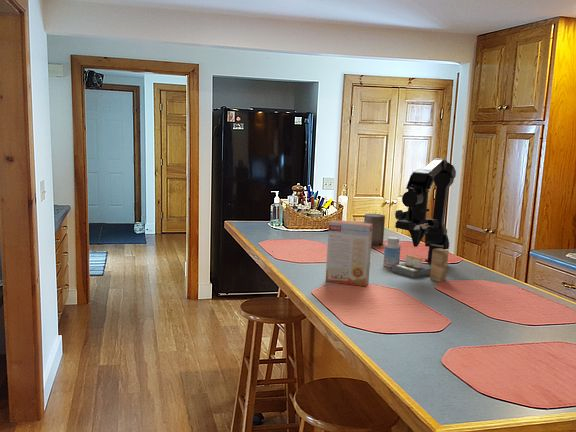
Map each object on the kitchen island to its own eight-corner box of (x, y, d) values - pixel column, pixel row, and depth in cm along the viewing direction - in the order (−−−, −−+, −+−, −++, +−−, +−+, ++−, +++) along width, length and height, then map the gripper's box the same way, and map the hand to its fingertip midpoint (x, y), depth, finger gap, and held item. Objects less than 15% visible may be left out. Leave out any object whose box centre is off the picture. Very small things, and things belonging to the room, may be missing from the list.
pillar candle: (386, 243, 252) (388, 212, 250) (378, 246, 244) (380, 214, 241) (367, 240, 257) (369, 210, 255) (359, 243, 249) (361, 212, 247)
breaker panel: (412, 268, 205) (413, 261, 204) (433, 274, 197) (434, 267, 196) (391, 271, 197) (392, 264, 197) (413, 278, 189) (413, 271, 189)
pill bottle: (399, 268, 203) (401, 240, 201) (383, 266, 204) (385, 238, 203) (398, 264, 209) (401, 237, 207) (383, 263, 210) (385, 235, 208)
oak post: (436, 277, 192) (439, 248, 191) (445, 280, 189) (448, 250, 188) (429, 278, 190) (432, 249, 188) (438, 281, 187) (441, 251, 185)
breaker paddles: (408, 263, 200) (409, 254, 199) (422, 267, 195) (423, 258, 194) (404, 264, 199) (405, 255, 198) (418, 268, 193) (419, 258, 193)
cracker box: (368, 283, 180) (373, 223, 177) (365, 287, 174) (370, 225, 171) (329, 277, 184) (333, 218, 181) (324, 281, 179) (328, 221, 176)
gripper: (417, 201, 205) (414, 240, 208) (385, 203, 194) (382, 244, 196) (441, 205, 197) (437, 246, 199) (409, 207, 185) (405, 250, 187)
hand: (415, 246), depth 196 cm, fingers closed
